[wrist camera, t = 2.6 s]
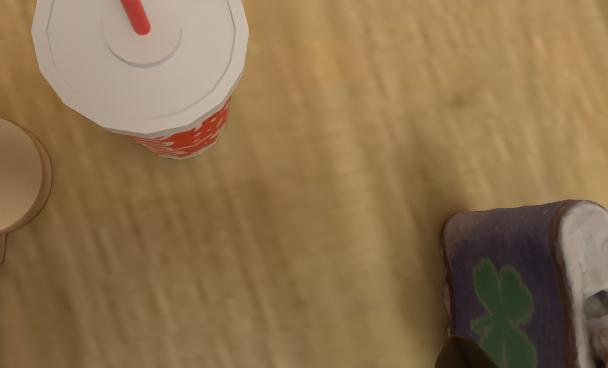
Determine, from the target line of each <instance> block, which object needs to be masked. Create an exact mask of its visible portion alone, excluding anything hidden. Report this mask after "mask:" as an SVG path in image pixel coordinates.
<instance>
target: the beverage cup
mask: <svg viewBox="0 0 608 368" xmlns="http://www.w3.org/2000/svg"><path fill="white" fill-rule="evenodd" d="M31 34H32V38H33V43H34V47H35V52H36V56H37V61H38V65H39V70H40V72H41V73H42V74H43V76H44V77H45V78H46V80H47V81H48V82H49V84H50V85H51V86H52V88H53V89H54V90H55V92H56V93H57V94H58V96H59V97H60V98H61V100H62V101H63V102H64V104H65V105H66V106H67V107H69V108H70V109H72V110H74V111H75V112H77V113H79V114H80V115H82V116H84V117H85V118H87V119H89V120H90V121H92V122H94V123H95V124H97V125H99V126H101V127H102V128H104V129H106V130H107V131H109V132H111V133H118V134H124V135H127V136H128V137H130V138H131V139H133V140H134V141H136V142H137V143H139V144H141V145H142V146H144V147H145V148H147V149H149V150H150V151H152V152H154V153H155V154H157V155H159V156H160V157H165V158H171V159H178V160H182V159H187V158H191V157H196V156H200V155H201V154H202V153H204V152H205V151H207V150H208V149H210V148H211V147H212V146H214V145H215V144H216V142H217V141H218V139H219V138H220V136H221V134H222V133H223V131H224V130H225V126H226V120H227V115H228V109H229V103H230V98H231V94H232V92H233V91H234V89H235V88H236V86H237V85H238V83H239V81H240V80H241V78H242V74H243V70H244V64H245V57H246V51H247V45H248V38H249V28H248V24H247V21H246V17H245V13H244V9H243V5H242V1H241V0H37V5H36V9H35V14H34V18H33V23H32V27H31Z"/></svg>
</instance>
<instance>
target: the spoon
mask: <svg viewBox="0 0 608 368" xmlns="http://www.w3.org/2000/svg"><path fill="white" fill-rule="evenodd" d="M51 184H52V167H51V163H50V159H49V157H48V154H47V152H46V150H45V149H44V147H43V145H42V144H41V143H40V142H39V140H38V139H37V138H35V137H34V136H33V135H32V134H31V133H29V132H28V131H27V130H25V129H23V128H21V127H19V126H17V125H15V124H14V123H12V122H10V121H8V120H5V119H2V118H0V263H2V262H3V258H4V248H5V238H6V234H7V233H10V232H12V231H15V230H17V229H19V228H21V227H22V226H24V225H25V224H27V223H28V222H29V221H31V220H32V219H33V218H34V217H35V216H36V215H37V214H38V212H39V211H40V210H41V209H42V207H43V205H44V204H45V202H46V200H47V198H48V196H49V193H50V189H51Z"/></svg>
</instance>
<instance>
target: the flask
mask: <svg viewBox="0 0 608 368" xmlns="http://www.w3.org/2000/svg"><path fill="white" fill-rule="evenodd" d="M440 250H441V256H444V258H445V259H444V260H445V273H446V274H445V282H443V287H444V293H443V294H442V295H443V297H444V305H445V307H446V308H445V309H448V310H447V313H448V314H449V317H450V327H449V328H447V329H446V331H447V332H448V336H449V337H450V336H452V335H456V336H465V337H469V338H471V339H473V340H474V341H475V342H476V343H477V344H478V345H479V346H480V347H481V348H482V350H483V351H484V352H485V353H486V354H487V355H488V356H489V357H490V358H491V359H492V360H493V361H494V362H495V364H496V365H497V366H498V367H499V368H608V211H607V210H606V209H605V208H604V207H603V206H601V205H600V204H597V203H595V202H592V201H588V200H563V201H558V202H554V203H548V204H543V205H535V206H522V207H518V208H506V209H505V208H496V209H491V210H487V211H474V212H462V213H458V214H456V215H454V216H453V217H451V218H449V219H448V220H447V222H446V224H445V226H444V231H443V234H442V244H441V249H440Z"/></svg>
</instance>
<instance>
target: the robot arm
mask: <svg viewBox="0 0 608 368" xmlns="http://www.w3.org/2000/svg"><path fill="white" fill-rule="evenodd" d="M435 368H499V367H498V366H497V365H496V364H495V362H494V361H493V360H492V359H491V358H490V357H489V356H488V355H487V354H486V353H485V352H484V351H483V350H482V348H481V347H480V346H479V345H478V344H477V343H476V342H475V341H474V340H473V339H471V338H469V337H465V336H456V335H452V336H450V337H449V338H448V339H447V341H446V343H445V345H444V347H443V349H442V350H441V352H440V354H439V356H438V358H437V360H436V363H435Z"/></svg>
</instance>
